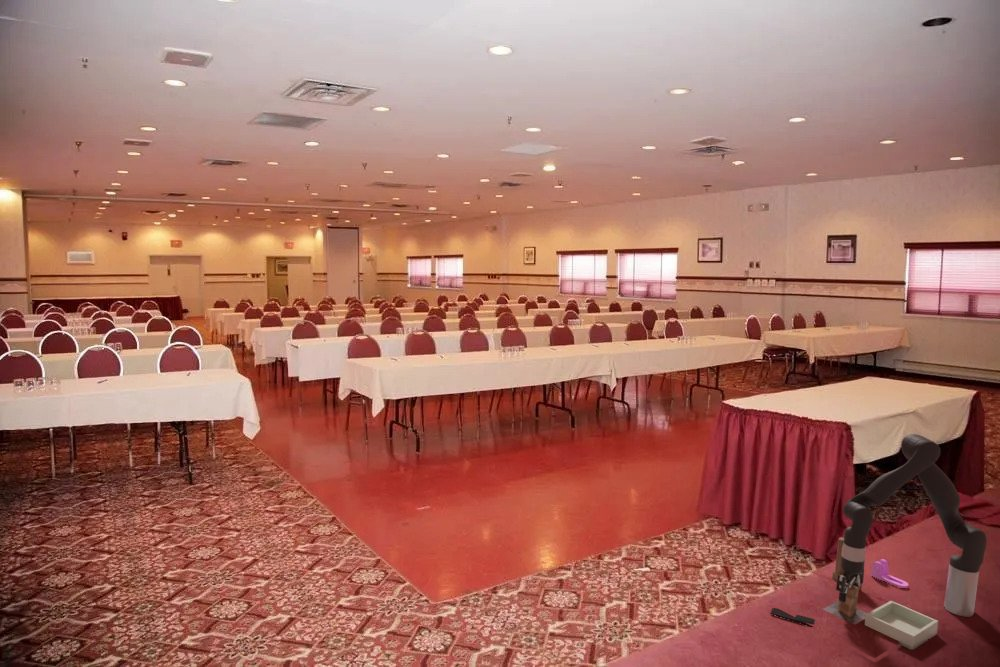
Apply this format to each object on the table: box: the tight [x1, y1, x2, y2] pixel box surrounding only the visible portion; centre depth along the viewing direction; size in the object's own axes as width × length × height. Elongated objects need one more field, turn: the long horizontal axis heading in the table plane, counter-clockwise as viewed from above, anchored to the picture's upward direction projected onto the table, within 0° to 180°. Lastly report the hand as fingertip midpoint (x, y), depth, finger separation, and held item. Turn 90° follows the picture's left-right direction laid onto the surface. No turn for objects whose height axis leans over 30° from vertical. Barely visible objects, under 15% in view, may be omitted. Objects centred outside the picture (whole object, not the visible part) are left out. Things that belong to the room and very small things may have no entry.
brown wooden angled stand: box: [831, 536, 866, 592], centre depth 271 cm, size 4×11×18 cm, turn 26°
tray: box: [864, 600, 939, 651], centre depth 240 cm, size 18×16×5 cm
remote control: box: [770, 607, 816, 628], centre depth 246 cm, size 5×2×15 cm
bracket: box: [870, 558, 909, 589], centre depth 276 cm, size 13×6×7 cm, turn 33°
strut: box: [838, 583, 860, 616], centre depth 249 cm, size 4×4×10 cm
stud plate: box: [822, 600, 868, 625], centre depth 250 cm, size 12×12×5 cm
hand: (848, 598), depth 249 cm, fingers open, 8 cm apart
